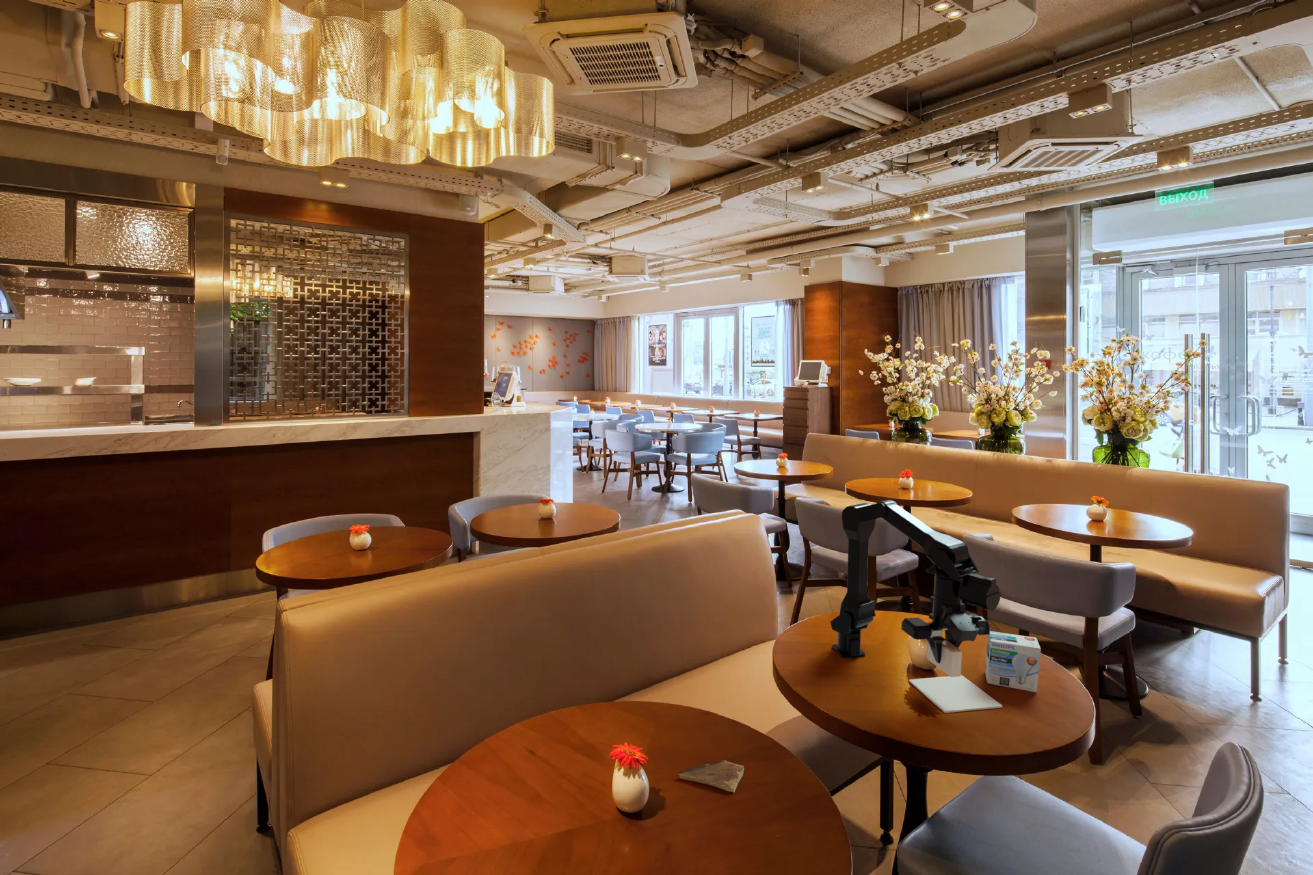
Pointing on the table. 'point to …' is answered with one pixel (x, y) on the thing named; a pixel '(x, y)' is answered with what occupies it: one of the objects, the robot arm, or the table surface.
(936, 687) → the mat
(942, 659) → the domino block
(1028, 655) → the light bulb box
